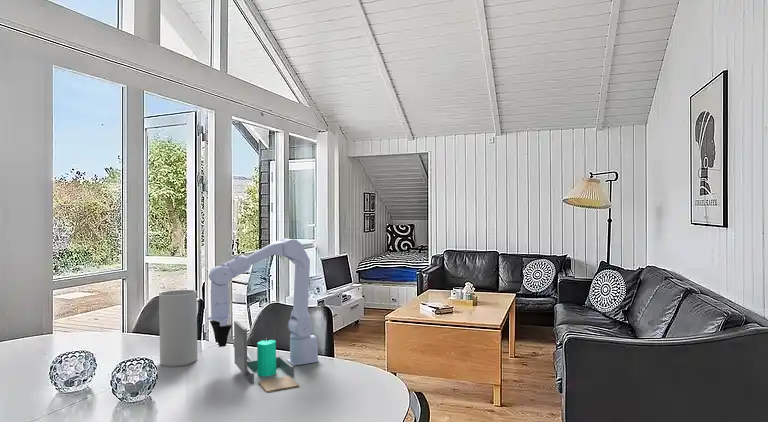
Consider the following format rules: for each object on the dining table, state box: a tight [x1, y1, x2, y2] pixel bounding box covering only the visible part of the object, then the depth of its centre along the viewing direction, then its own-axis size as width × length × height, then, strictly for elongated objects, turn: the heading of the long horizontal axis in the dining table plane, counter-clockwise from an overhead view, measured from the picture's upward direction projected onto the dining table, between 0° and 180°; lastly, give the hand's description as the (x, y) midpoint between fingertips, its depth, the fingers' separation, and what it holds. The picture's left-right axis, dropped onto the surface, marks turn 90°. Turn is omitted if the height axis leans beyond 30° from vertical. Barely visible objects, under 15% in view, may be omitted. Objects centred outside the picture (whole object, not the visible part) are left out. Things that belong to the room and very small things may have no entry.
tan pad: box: [257, 375, 300, 394], centre depth 160 cm, size 10×10×1 cm
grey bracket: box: [232, 320, 295, 384], centre depth 171 cm, size 16×15×17 cm
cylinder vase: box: [158, 289, 198, 368], centre depth 186 cm, size 12×12×25 cm
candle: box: [256, 337, 277, 377], centre depth 171 cm, size 6×6×12 cm
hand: (220, 343), depth 171 cm, fingers open, 7 cm apart
